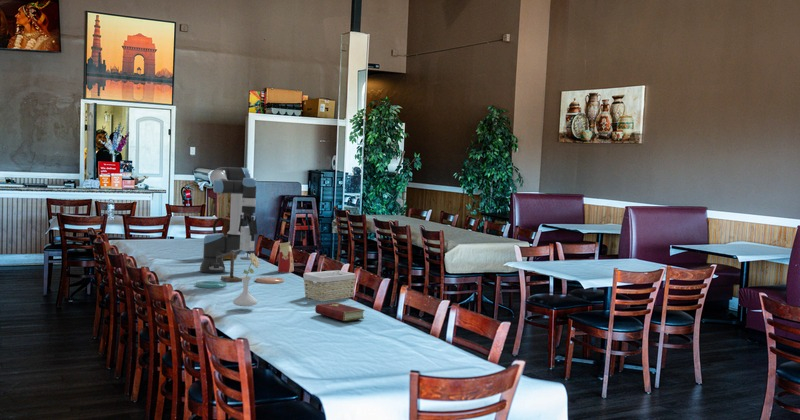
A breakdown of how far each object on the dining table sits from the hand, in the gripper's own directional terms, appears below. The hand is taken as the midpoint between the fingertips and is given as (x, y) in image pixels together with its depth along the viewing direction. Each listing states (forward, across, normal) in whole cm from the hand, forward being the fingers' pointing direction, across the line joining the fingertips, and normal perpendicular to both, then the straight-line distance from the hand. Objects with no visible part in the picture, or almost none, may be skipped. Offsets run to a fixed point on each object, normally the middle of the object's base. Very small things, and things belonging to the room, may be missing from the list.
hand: (247, 245), depth 400 cm
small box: (+3, 0, 0) cm, 3 cm away
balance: (+21, -15, -1) cm, 26 cm away
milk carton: (+22, -28, +44) cm, 56 cm away
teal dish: (+21, -2, -20) cm, 29 cm away
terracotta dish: (+21, -3, +17) cm, 28 cm away
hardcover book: (+22, +93, -4) cm, 95 cm away
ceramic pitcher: (+22, -95, +36) cm, 104 cm away
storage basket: (+24, +52, +20) cm, 60 cm away
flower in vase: (+21, +55, -31) cm, 66 cm away
